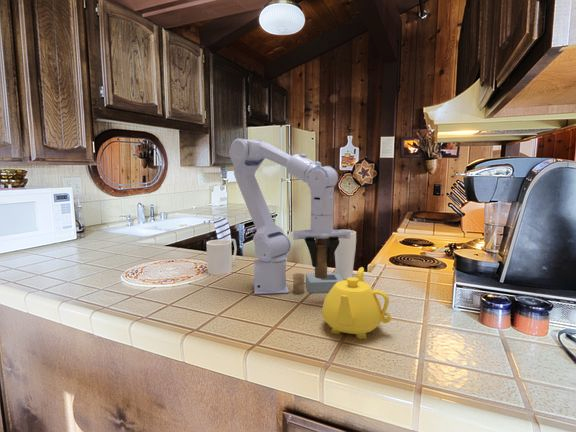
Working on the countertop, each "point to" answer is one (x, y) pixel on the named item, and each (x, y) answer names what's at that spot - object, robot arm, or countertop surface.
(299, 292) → the oak stub
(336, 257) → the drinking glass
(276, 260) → the robot arm
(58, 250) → the countertop surface
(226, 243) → the cup
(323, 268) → the walnut dowel
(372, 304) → the teapot
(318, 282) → the socket block
